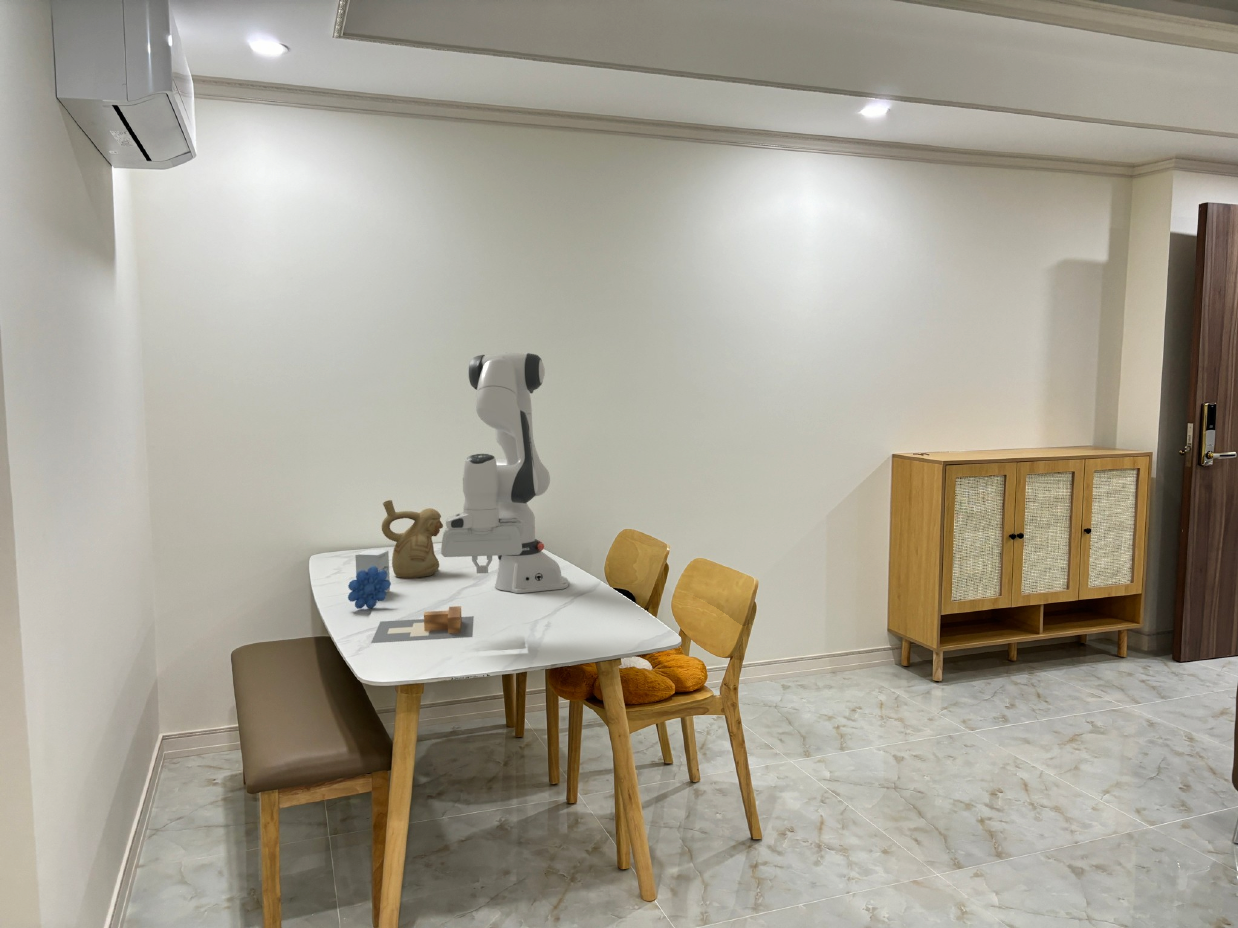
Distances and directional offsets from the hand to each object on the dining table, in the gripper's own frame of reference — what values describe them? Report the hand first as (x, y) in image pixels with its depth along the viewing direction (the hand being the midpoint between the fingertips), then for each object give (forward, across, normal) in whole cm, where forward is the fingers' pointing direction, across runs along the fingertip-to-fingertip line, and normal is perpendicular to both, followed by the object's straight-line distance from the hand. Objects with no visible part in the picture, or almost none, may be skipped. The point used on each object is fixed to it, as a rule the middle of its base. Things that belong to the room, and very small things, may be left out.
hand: (482, 572), depth 216 cm
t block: (+14, +10, 0) cm, 17 cm away
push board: (+15, +15, 0) cm, 21 cm away
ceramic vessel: (+15, +23, -66) cm, 72 cm away
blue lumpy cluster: (+15, +32, -27) cm, 44 cm away
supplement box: (+15, +33, -43) cm, 56 cm away
